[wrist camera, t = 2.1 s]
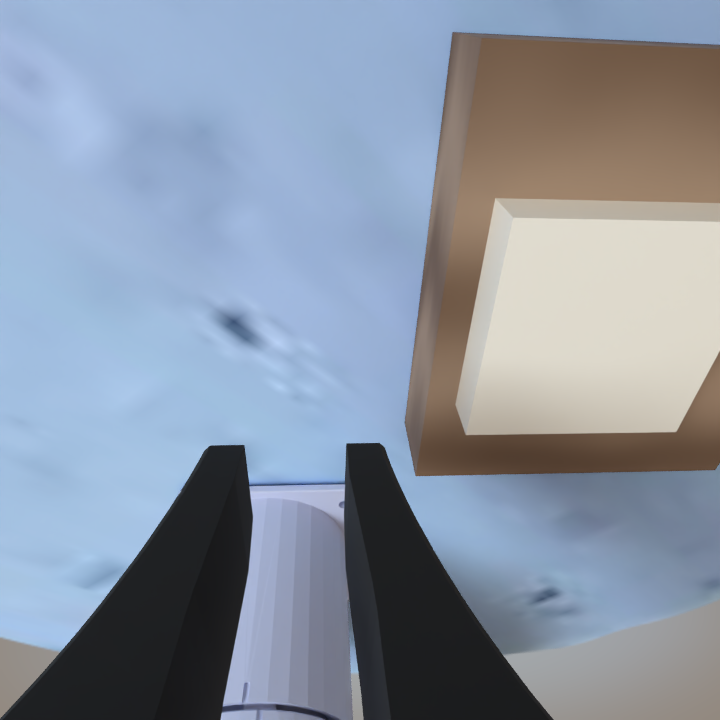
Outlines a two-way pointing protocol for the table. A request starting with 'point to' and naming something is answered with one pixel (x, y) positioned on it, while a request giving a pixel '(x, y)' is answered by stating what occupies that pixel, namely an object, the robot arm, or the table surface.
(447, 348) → the board
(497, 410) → the coaster
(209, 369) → the table surface
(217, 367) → the table surface
